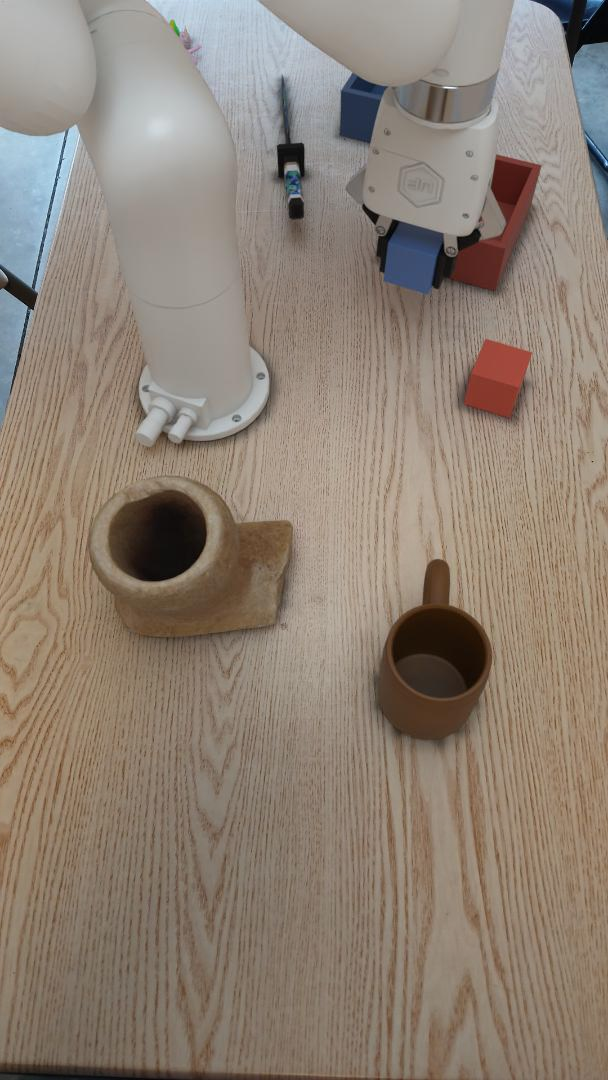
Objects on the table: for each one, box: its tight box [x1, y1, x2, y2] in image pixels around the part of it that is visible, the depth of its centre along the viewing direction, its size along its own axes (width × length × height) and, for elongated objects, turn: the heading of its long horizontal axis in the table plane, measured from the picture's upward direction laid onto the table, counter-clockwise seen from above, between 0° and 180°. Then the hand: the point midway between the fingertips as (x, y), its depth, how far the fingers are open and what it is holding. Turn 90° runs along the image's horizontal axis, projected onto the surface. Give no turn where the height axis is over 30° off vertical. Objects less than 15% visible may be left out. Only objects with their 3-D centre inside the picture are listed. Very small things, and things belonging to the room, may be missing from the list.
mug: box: [377, 558, 493, 741], centre depth 62 cm, size 12×8×9 cm, turn 175°
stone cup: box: [87, 475, 294, 638], centre depth 63 cm, size 15×12×15 cm
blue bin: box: [339, 72, 389, 144], centre depth 99 cm, size 14×13×6 cm
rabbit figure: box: [168, 19, 202, 67], centre depth 104 cm, size 6×6×15 cm
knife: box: [276, 74, 306, 221], centre depth 96 cm, size 31×3×4 cm, turn 1°
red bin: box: [450, 153, 542, 292], centre depth 88 cm, size 14×13×6 cm
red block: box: [463, 338, 533, 419], centre depth 78 cm, size 4×4×4 cm
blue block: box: [382, 221, 444, 295], centre depth 77 cm, size 4×4×4 cm
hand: (414, 269), depth 78 cm, fingers closed on blue block, 4 cm apart
